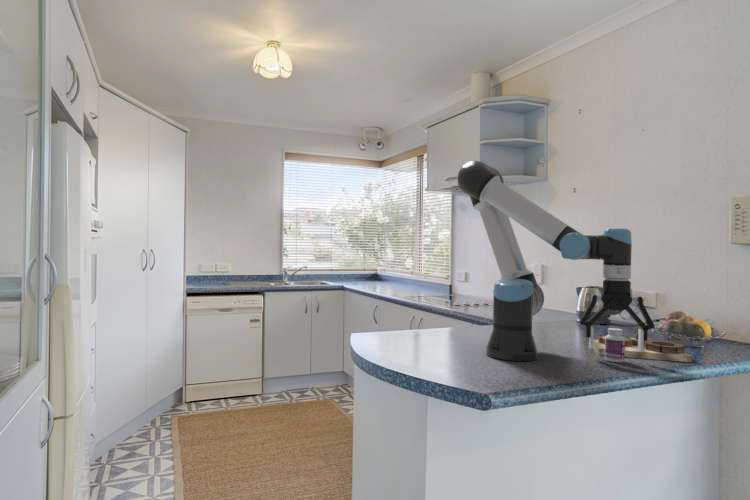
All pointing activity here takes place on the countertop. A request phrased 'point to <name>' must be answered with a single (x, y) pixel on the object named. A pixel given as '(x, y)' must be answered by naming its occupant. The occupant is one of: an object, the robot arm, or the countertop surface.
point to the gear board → (645, 354)
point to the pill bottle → (614, 345)
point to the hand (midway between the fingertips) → (615, 349)
